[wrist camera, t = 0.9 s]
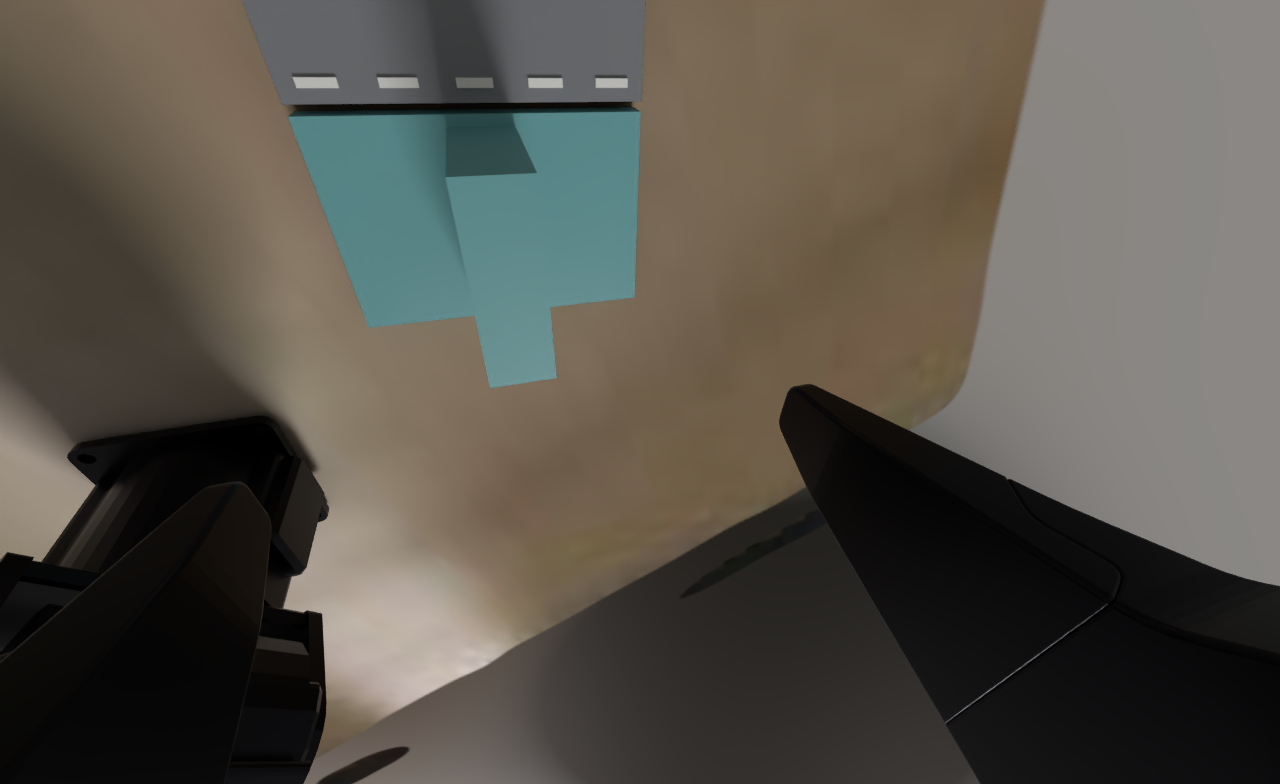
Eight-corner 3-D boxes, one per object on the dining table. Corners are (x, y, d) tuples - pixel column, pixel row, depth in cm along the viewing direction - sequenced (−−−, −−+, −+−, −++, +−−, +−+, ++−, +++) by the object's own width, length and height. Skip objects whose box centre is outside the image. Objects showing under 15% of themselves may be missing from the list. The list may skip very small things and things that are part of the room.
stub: (371, 316, 18) (346, 419, 14) (295, 111, 13) (223, 168, 9) (628, 288, 20) (676, 368, 16) (633, 107, 16) (699, 150, 12)
